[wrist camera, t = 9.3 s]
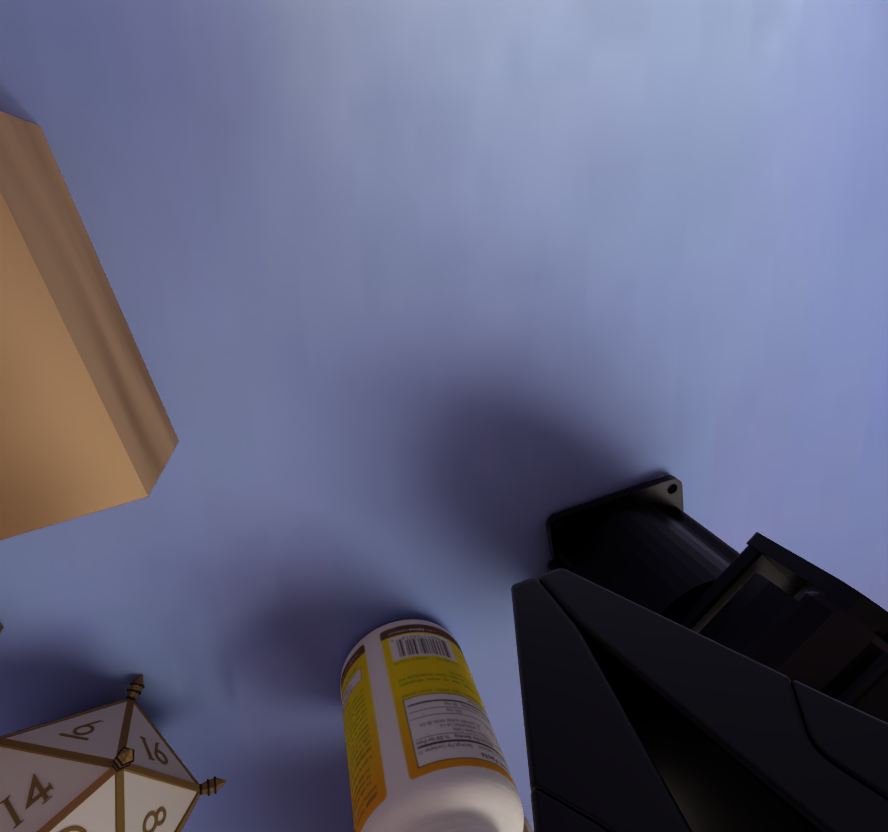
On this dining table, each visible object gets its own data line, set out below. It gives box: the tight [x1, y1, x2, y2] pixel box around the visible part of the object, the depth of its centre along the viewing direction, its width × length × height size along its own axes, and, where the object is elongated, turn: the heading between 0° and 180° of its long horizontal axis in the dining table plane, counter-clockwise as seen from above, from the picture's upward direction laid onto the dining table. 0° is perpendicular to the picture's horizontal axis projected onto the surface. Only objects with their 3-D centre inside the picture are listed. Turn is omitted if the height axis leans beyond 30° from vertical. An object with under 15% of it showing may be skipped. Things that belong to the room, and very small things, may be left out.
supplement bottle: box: [340, 619, 524, 832], centre depth 20 cm, size 6×6×10 cm
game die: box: [0, 675, 226, 832], centre depth 18 cm, size 9×8×10 cm
